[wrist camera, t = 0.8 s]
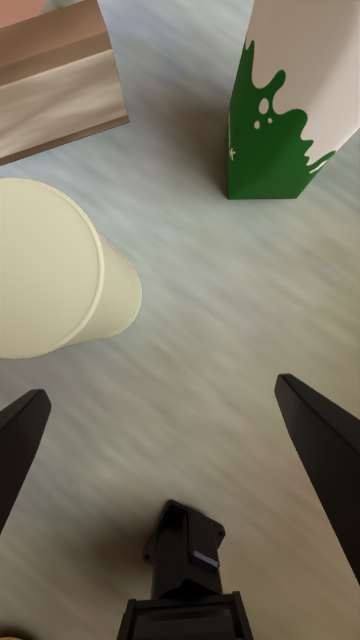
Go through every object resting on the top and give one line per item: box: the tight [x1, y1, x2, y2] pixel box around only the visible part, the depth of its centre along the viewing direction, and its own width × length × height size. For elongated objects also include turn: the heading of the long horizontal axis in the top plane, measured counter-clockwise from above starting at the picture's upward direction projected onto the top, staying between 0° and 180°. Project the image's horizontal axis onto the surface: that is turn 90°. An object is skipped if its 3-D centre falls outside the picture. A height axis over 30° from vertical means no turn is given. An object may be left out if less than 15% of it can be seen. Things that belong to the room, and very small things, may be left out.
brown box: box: [0, 0, 129, 166], centre depth 19 cm, size 3×18×7 cm, turn 109°
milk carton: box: [227, 0, 360, 199], centre depth 12 cm, size 9×9×20 cm
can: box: [0, 178, 142, 359], centre depth 16 cm, size 9×9×12 cm
